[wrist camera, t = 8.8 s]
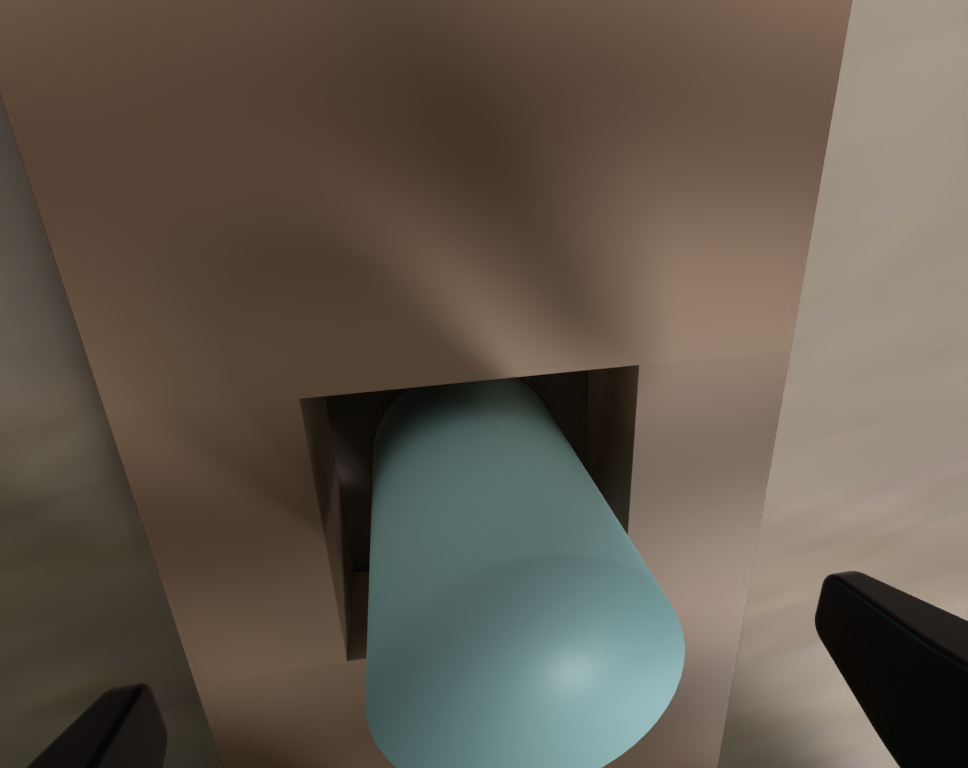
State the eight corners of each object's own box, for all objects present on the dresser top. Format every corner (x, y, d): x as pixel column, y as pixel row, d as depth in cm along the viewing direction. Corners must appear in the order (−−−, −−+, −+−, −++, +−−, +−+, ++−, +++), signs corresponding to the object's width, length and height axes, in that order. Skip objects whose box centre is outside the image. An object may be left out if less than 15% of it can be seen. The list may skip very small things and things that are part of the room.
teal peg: (553, 516, 14) (670, 765, 8) (383, 538, 13) (384, 822, 7) (555, 358, 12) (701, 533, 6) (362, 376, 11) (343, 582, 6)
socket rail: (668, 702, 17) (713, 790, 14) (279, 773, 15) (261, 883, 13) (756, -44, 10) (870, -104, 7) (56, -44, 8) (-70, -117, 6)
